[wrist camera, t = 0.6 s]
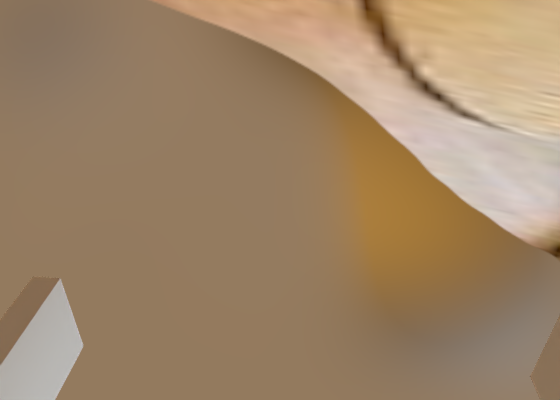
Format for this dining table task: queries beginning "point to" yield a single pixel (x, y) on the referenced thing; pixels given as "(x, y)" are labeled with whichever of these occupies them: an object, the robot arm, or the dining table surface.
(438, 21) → the dining table surface
